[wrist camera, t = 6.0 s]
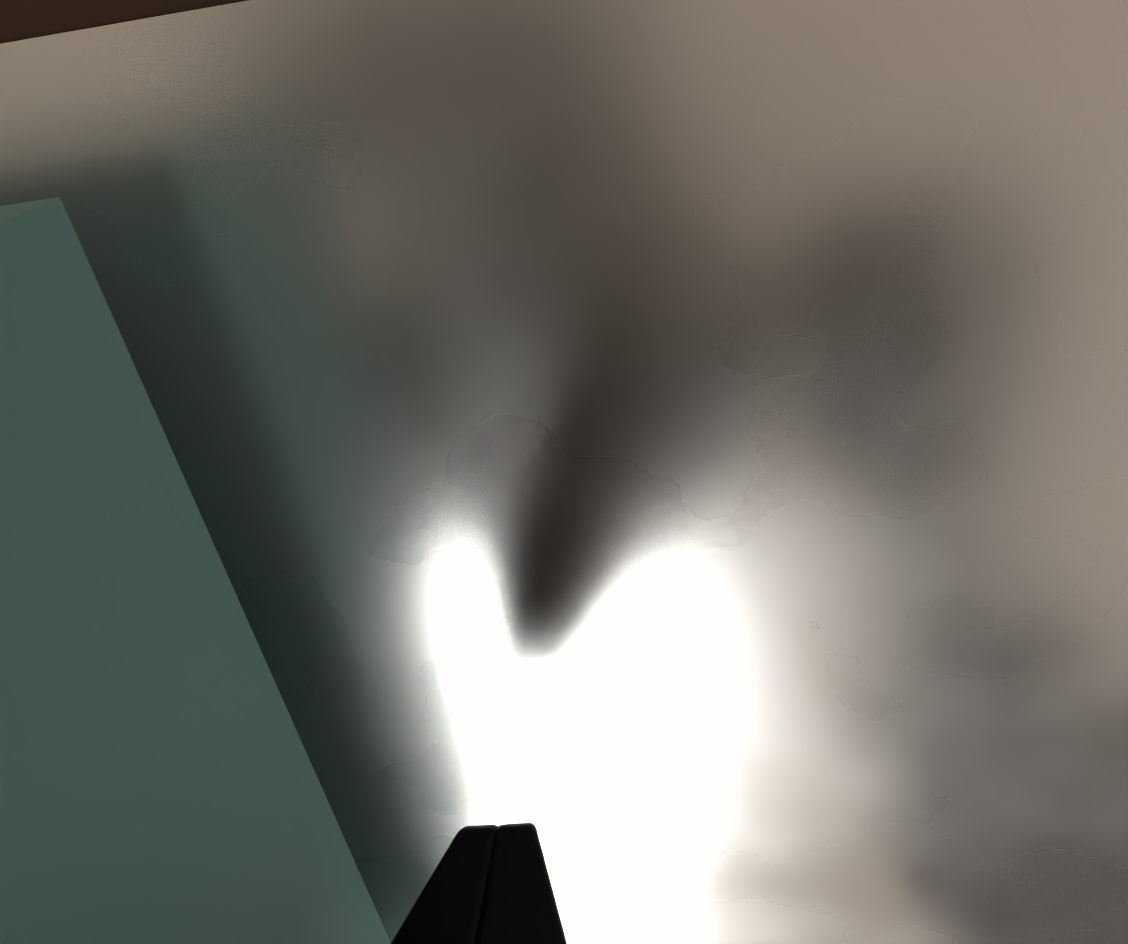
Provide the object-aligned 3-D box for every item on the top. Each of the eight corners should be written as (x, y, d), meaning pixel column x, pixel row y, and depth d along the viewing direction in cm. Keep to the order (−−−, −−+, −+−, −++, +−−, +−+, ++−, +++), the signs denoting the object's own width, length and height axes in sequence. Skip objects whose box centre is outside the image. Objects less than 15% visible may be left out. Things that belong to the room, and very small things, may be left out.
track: (1643, -244, 6) (2476, -393, 3) (1152, 1009, 14) (1276, 1248, 11) (-1500, 306, 9) (-2344, 450, 6) (-392, 1063, 17) (-567, 1260, 15)
